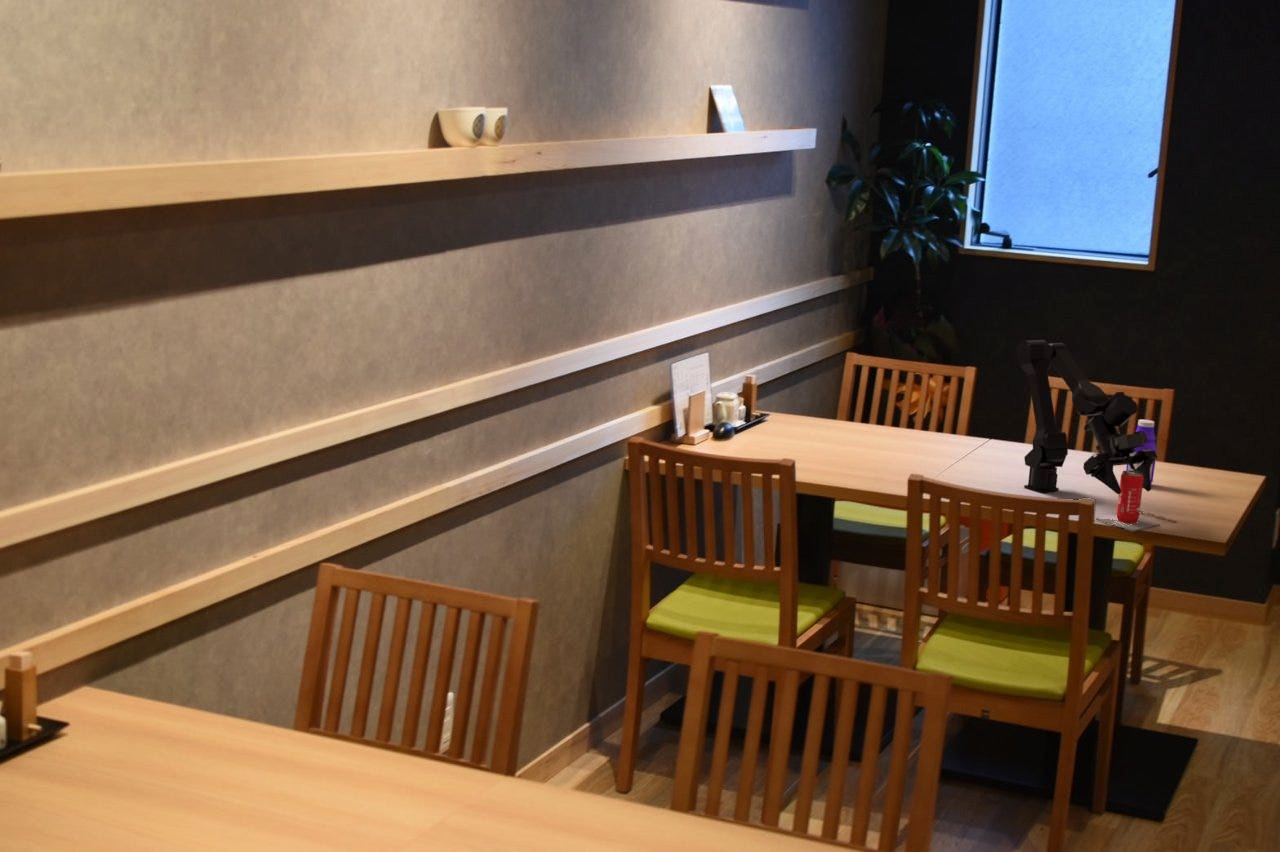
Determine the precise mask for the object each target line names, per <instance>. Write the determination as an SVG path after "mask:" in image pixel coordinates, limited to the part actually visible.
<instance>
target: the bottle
mask: <svg viewBox="0 0 1280 852" xmlns="http://www.w3.org/2000/svg"><path fill="white" fill-rule="evenodd" d="M1137 421H1138V422H1137V427H1136V430H1135V432H1138V431H1143V430H1144V432H1145V433H1146V435H1147V438H1148V442H1147V443H1145V444H1144V447H1137V448H1134V449H1135V451H1134V452H1133V453H1131V454H1130V456H1134V455H1135V454H1136V453H1137V452H1138V451H1140V450H1148V449H1151V450H1154V451H1155V453H1156V454H1157V451H1158V449H1157V444H1156V443H1155V441H1156V439H1157V437H1156V435H1155V421H1154V420H1150V419H1138V420H1137ZM1155 465H1156V461H1155V462H1154V463H1153V464H1152V465H1151V467H1150V482H1151V485H1152V483H1153V481H1154V475H1155V467H1156V466H1155ZM1125 466H1126V467H1125V468H1126V469H1125V471H1126V470H1131V471H1134V470H1133V469H1132V468H1131V467H1130V465H1129V464H1128V465H1125Z"/></svg>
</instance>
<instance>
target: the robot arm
mask: <svg viewBox="0 0 1280 852" xmlns="http://www.w3.org/2000/svg"><path fill="white" fill-rule="evenodd" d="M1016 356H1017V359H1018V362H1019V366H1020V368H1021V369H1022V370H1023V371H1024V373H1025V374H1026V375H1027V378H1028V382H1029V390H1030V396H1031V402H1032V407H1033V408H1032V409H1033V415H1034V422H1035V426H1036V431H1035V434H1034V436H1033V439H1032V449H1031V450H1030V451H1029V452H1028V453H1027V454H1026V455H1025V456H1024V457H1023V459H1024V464H1025V466H1027V467H1029V473H1028V481H1027V482H1028V483H1027V484H1026V485H1025V484H1024V485H1023V488H1025V489H1029V490H1032V491H1036V492H1039V493H1044V494H1045V493H1051V492H1054V491H1059V489H1060V488H1059V487H1057V483H1058V472H1057V470H1058V468H1063V465H1064V464H1065V461H1066V459H1067V456H1068V453H1069V452H1068V451H1069V449H1068V448H1070V447H1069V444H1068V437H1067V433H1066V432H1065V431H1060V429H1059V428H1058V427H1057V423H1056V417H1055V410H1054V404H1053V398H1052V393H1051V386H1050V380H1049V373H1048V372H1049V370H1050V368H1051V364H1052V365H1053V367H1054V368H1055V370H1056V371H1057V372H1058V374H1059V375H1060V377H1061V378H1062V380H1063V381H1064V383H1065V384H1066V386H1067V387H1068V389H1069V390H1070V392H1071V394H1072V395H1071V402H1072V404H1073V405H1074V408H1075V410H1076V412H1077V414H1079V415H1080V416H1082V417H1083V416H1084V417H1085V416H1093V417H1092V418H1091V419H1086V422H1085V425H1084V427H1083V431H1085V432H1086V431H1089V432H1090V431H1092V434H1093V436H1094V438H1095V440H1096V442H1097V445H1096V446H1095V449H1096V451H1101V452H1099V453H1093V454H1092V455H1091V456H1090V457H1089V458H1088V459H1086V461H1085V462H1083V465H1082V466H1083V470H1084V473H1085V474H1086V475H1087V476H1088V475H1090V476H1091V477H1092V478H1095V479H1096V480H1097V481H1099V482H1101V483H1102V484H1104V485H1105V486H1107V487H1108V488H1109V489H1110V490H1111V491H1113V492H1114V493H1115V494H1117V495H1119V494H1120V493H1121V489H1120V483H1119V482H1118V480H1117V477H1116V475H1115V472H1114V467H1117V466H1124V465H1125V466H1127V465H1128V464H1129V465H1130V467H1131V468H1132V469H1133V470H1134V471H1138V472H1141V473H1143V477H1144V479H1143V487H1142V488H1143V489H1144V490H1146V491H1147V492H1150V491H1151V490H1152V484H1151V482H1150V467H1151V465H1152V464H1153V463H1154V462H1155V463H1156V461H1157V459H1159V457H1158V455H1157V452H1156V453H1155V451H1154V450H1151V449H1148V450H1140V451H1138V452H1137V453H1136V454H1135V455H1134V456H1130V454H1131V453H1133V452H1134V451H1135V449H1134V448H1137V447H1144V444H1145V443H1147V442H1148V438H1147V435H1146V433H1145V432H1144V430H1143V431H1138V432H1136V431H1134V433H1129V434H1125V433H1120V431H1119V429H1118V427H1122V426H1123V425H1125V424H1126V423H1127V422H1128V421H1129V420H1130V419H1131V418H1132V417H1133V416H1135V414H1137V412H1138V409H1139V408H1138V404H1137V402H1136V401H1135V400H1134V399H1132V398H1131V396H1128V395H1126V394H1125V392H1124V391H1116V392H1115V393H1114V394H1113V396H1111V397H1109V396H1108V395H1107V393H1105V392H1104V390H1102V388H1101V387H1100V386H1098V385H1096V384H1095V383H1092V382H1091V381H1090V380H1089V379H1088V377H1087V375H1085V373H1084V371H1083V370H1082V369H1081V367H1080V366H1079V364H1078V363H1077V362H1076V361H1075V359H1074V357H1073V356H1072V354H1071V353H1070V352H1069V349H1068V346H1067V345H1066V344H1064V343H1062V342H1058V343H1057V342H1055V343H1049V342H1047V341H1046V340H1044V339H1040V340H1039V339H1037V340H1036V339H1035V340H1023V341H1021V342H1020V343H1019V345H1018V347H1017V348H1016Z"/></svg>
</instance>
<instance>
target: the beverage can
mask: <svg viewBox="0 0 1280 852" xmlns="http://www.w3.org/2000/svg"><path fill="white" fill-rule="evenodd" d="M1143 479H1144V477H1143V473H1141V472H1138V471H1131V470H1126V469H1125V470H1122V473H1121V474H1120V483H1119V486H1120V489H1121V493H1120V494H1118V497H1117V507H1116V514H1117V518H1118V521H1120V522H1123V523H1136V522H1137V520H1138V518H1140V513H1139V512H1140V511H1141V503H1142V495H1143V488H1144V487H1143Z"/></svg>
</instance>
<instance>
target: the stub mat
mask: <svg viewBox="0 0 1280 852" xmlns="http://www.w3.org/2000/svg"><path fill="white" fill-rule="evenodd" d="M1095 518H1096V520H1098V521H1102V522H1105V523H1109V524H1113V523H1116V522H1114V521H1117V520H1113V519H1112V520H1110V519H1099V517H1095ZM1098 521H1097V522H1098ZM1117 522H1120V521H1117ZM1137 522H1138V523H1137ZM1137 522H1136V523H1125V524H1123V523H1122V522H1120V523H1121V524H1122V525H1124V526H1122V525H1121V524H1119V523H1116V524H1117V526H1120V527H1122V528H1124V529H1123V530H1125V531H1129V532H1131V533H1134V532H1138V531H1141V530H1140V529H1142V530H1145V529H1144V528H1147V529H1149V528H1148V527H1151V528H1153V527H1152V526H1155V527H1159V526H1161V523H1160V522H1156V521H1152V520H1149V519H1145V518H1143V517H1139V518H1138V520H1137ZM1105 523H1104V524H1105ZM1116 524H1113V525H1116ZM1126 524H1127V525H1126ZM1130 524H1132V525H1130ZM1128 525H1129V526H1128ZM1158 525H1159V526H1158Z"/></svg>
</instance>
